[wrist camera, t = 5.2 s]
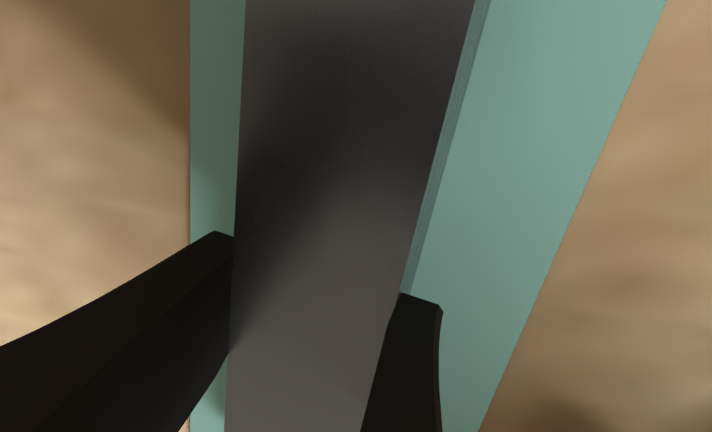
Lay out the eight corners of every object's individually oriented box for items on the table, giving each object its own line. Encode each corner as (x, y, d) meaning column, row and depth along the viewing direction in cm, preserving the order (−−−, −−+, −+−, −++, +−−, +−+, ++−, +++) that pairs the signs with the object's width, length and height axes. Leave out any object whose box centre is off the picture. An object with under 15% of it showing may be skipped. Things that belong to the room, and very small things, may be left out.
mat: (424, 547, 18) (421, 561, 18) (196, 457, 20) (190, 469, 19) (859, -457, 6) (872, -469, 6) (207, -542, 8) (189, -555, 7)
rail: (355, 490, 17) (321, 589, 15) (263, 455, 18) (218, 546, 16) (561, -257, 8) (543, -261, 6) (350, -296, 8) (261, -315, 6)
